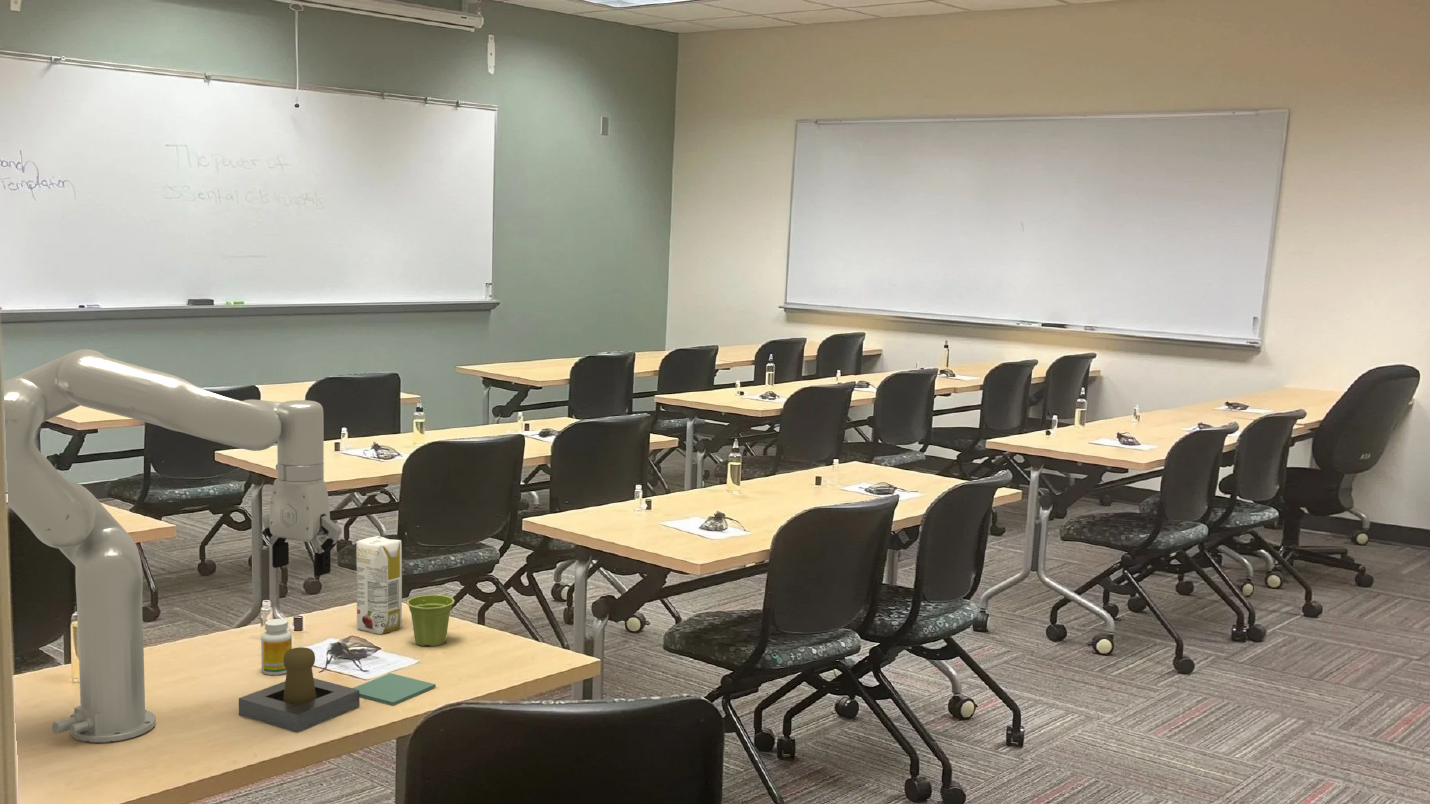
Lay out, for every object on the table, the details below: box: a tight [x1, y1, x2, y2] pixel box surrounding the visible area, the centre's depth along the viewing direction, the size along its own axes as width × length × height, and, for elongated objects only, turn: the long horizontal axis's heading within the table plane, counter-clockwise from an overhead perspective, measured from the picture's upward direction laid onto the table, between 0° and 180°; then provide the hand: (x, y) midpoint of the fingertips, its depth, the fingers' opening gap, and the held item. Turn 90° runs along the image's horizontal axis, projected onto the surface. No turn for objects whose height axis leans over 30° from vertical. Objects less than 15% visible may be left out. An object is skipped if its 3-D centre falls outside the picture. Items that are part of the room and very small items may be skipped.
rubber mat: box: [352, 672, 436, 706], centre depth 226 cm, size 11×11×1 cm
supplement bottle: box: [260, 618, 293, 676], centre depth 234 cm, size 5×5×10 cm
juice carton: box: [356, 535, 403, 635], centre depth 261 cm, size 8×9×19 cm
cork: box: [283, 646, 316, 706], centre depth 214 cm, size 6×6×11 cm
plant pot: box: [406, 594, 455, 647], centre depth 253 cm, size 9×9×9 cm
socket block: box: [238, 677, 361, 733], centre depth 215 cm, size 14×14×3 cm
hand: (301, 570), depth 215 cm, fingers open, 9 cm apart
